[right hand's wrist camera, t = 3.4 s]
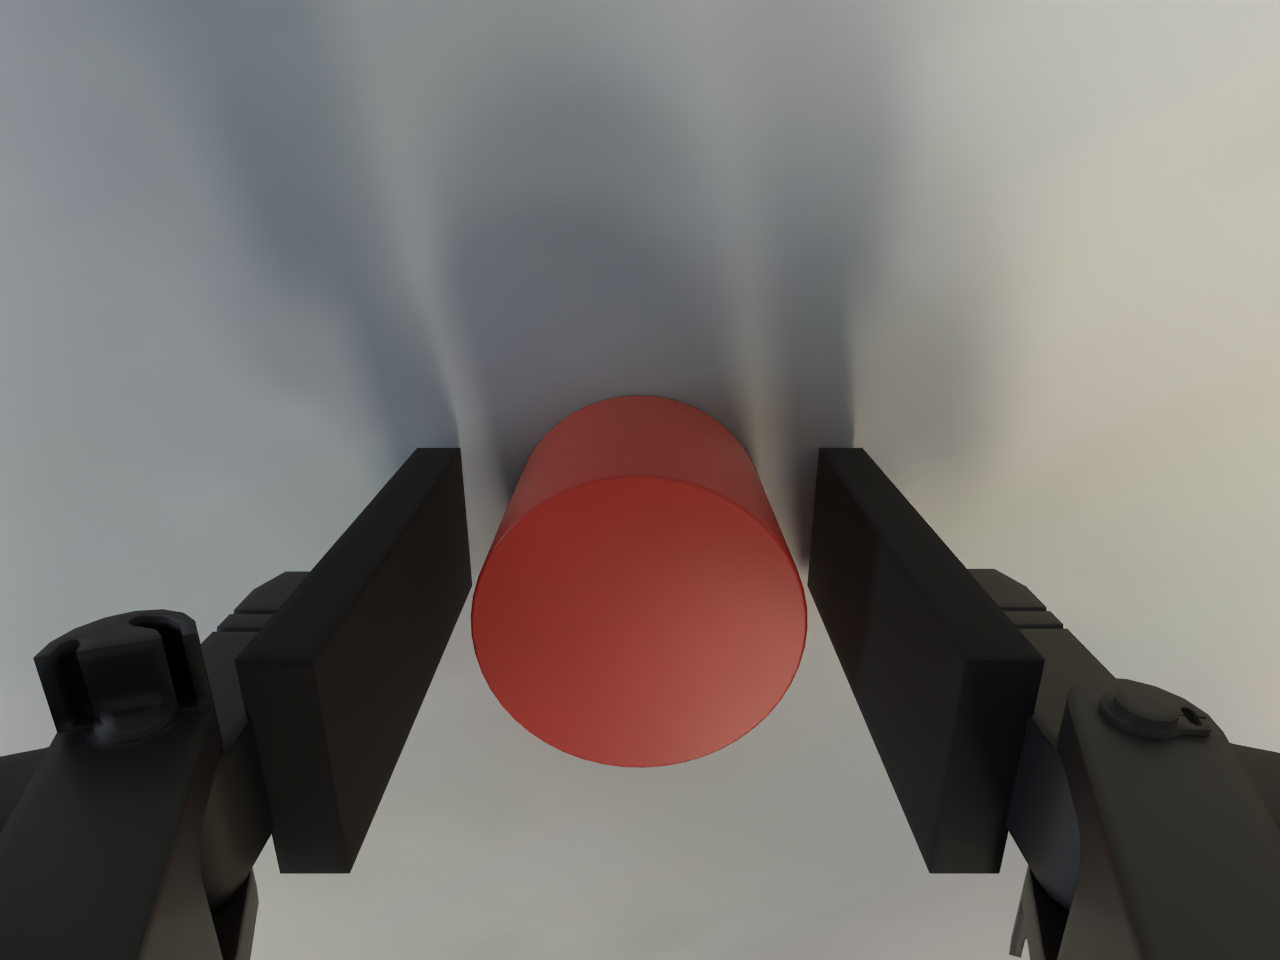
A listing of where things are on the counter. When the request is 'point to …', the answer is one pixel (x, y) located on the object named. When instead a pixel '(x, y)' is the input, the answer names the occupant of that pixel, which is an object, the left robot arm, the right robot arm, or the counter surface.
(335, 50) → the counter surface
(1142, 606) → the counter surface
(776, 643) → the cylinder
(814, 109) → the counter surface
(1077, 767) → the right robot arm
